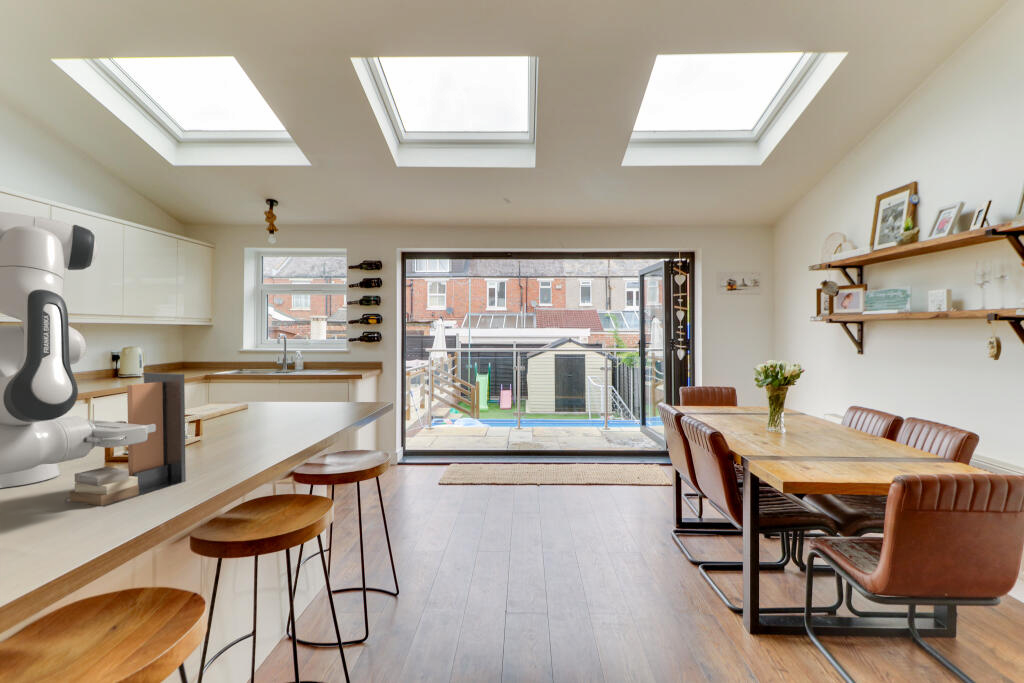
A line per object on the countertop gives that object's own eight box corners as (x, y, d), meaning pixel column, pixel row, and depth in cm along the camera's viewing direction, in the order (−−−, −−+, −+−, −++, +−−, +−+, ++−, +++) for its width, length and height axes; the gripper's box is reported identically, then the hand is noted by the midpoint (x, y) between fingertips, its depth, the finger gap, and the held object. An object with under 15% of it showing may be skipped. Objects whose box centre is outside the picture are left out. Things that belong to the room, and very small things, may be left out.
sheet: (133, 489, 113) (132, 385, 112) (128, 489, 113) (127, 385, 112) (163, 481, 119) (162, 382, 119) (158, 480, 120) (157, 382, 119)
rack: (104, 513, 102) (102, 381, 101) (65, 507, 106) (63, 379, 105) (185, 487, 119) (184, 374, 118) (149, 482, 123) (148, 372, 122)
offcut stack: (101, 505, 102) (101, 479, 102) (70, 500, 105) (69, 474, 105) (139, 493, 110) (139, 469, 110) (109, 489, 113) (109, 465, 113)
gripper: (104, 426, 98) (171, 415, 111) (37, 420, 104) (108, 410, 117) (105, 458, 98) (172, 442, 111) (37, 449, 104) (108, 436, 117)
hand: (138, 425), depth 114 cm, fingers open, 8 cm apart
